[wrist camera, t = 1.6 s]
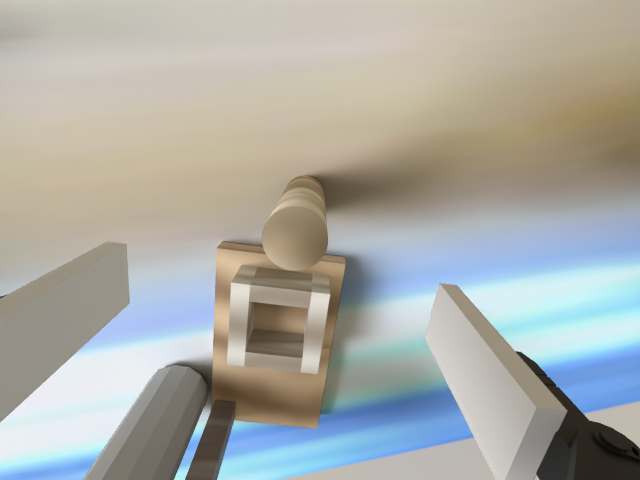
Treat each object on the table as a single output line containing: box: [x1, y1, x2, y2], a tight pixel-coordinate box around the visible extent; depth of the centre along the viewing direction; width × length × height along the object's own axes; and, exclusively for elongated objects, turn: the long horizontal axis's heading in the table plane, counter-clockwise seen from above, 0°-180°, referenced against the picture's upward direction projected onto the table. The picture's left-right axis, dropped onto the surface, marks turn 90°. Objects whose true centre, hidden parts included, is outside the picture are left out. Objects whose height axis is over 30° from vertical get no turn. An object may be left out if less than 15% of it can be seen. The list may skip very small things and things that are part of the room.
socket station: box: [185, 242, 346, 480], centre depth 30 cm, size 22×13×18 cm, turn 172°
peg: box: [262, 176, 328, 271], centre depth 27 cm, size 4×4×14 cm
